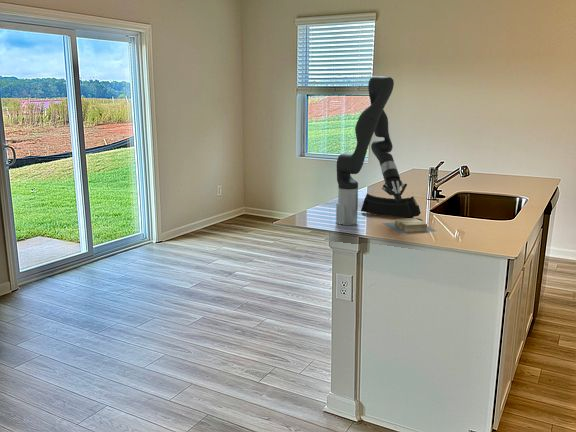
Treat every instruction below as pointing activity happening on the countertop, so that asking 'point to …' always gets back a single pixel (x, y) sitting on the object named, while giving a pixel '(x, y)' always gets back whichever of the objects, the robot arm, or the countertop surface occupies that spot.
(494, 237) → the countertop surface
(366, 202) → the magazine
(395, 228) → the rubber mat
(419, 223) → the oak tile
